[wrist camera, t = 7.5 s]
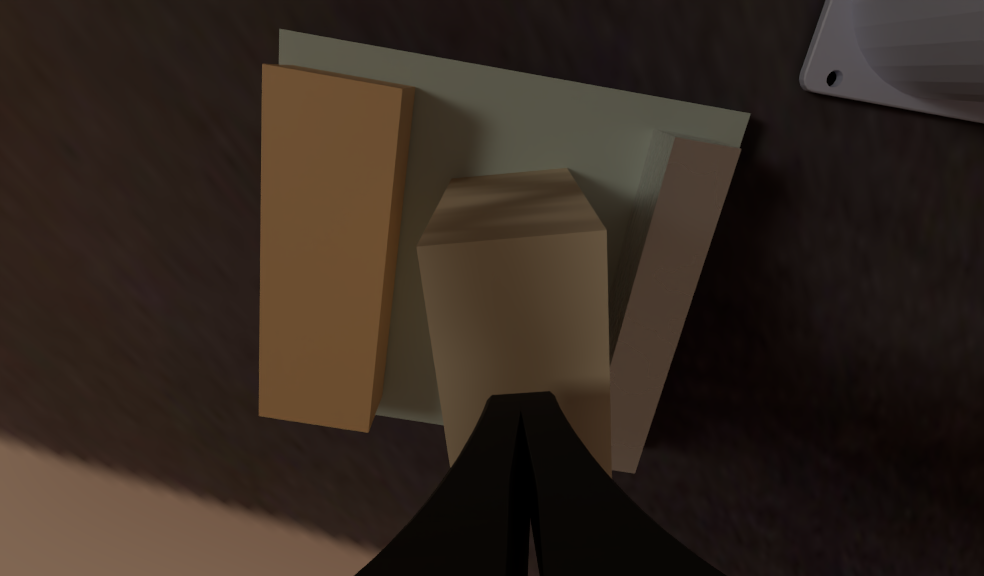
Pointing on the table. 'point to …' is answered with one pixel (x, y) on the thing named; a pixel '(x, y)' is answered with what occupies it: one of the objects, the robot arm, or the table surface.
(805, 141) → the table surface
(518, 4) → the table surface
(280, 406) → the block
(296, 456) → the table surface
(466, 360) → the maple block
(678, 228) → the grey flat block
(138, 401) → the table surface
